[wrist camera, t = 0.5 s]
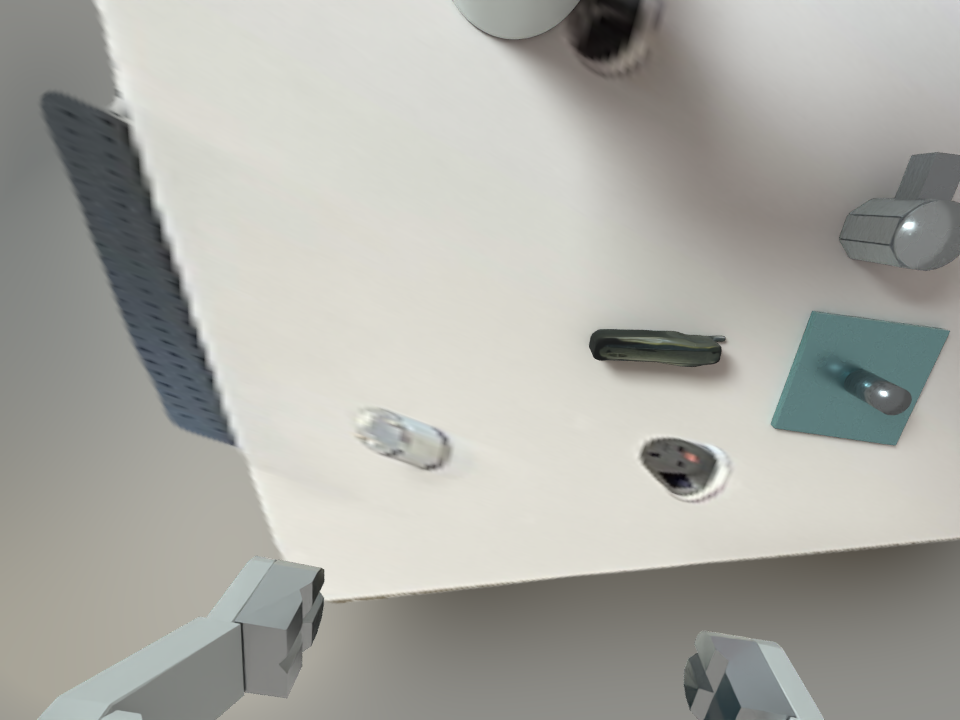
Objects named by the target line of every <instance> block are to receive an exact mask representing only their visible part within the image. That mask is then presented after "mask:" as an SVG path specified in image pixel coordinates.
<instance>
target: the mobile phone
mask: <svg viewBox="0 0 960 720" xmlns="http://www.w3.org/2000/svg"><path fill="white" fill-rule="evenodd" d="M723 341H725V336H701V335H686V334H682V333H679V332H675V331H650V330H617V329H601V330H597V331H595V332H594V333H593V334H592V336H591V338H590V344H589V348H590V350H591V352H592V355H593V357H594V358H595V359H597V360H602V361H603V360H622V361H646V362H660V363H666V364H672V365H677V366H685V367H696V366H701V365H708V364H715V363H717V362H719V360H720V356H721V346H720V345H719V344H718V343H716V342H723Z"/></svg>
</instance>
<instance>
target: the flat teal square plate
mask: <svg viewBox="0 0 960 720" xmlns="http://www.w3.org/2000/svg"><path fill="white" fill-rule="evenodd" d="M949 332H950V331H948V330H945V329H941V328H934V327H926V326H919V325H912V324H904V323H897V322H890V321H882V320H875V319H867V318H860V317H853V316H845V315H838V314H831V313H823V312H816V311H812V313H811V316H810V319H809V321H808V324H807V327H806V330H805V332H804V335H803V338H802V340H801V343H800V346H799V349H798V351H797V354H796V357H795V359H794V362H793V365H792V367H791V370H790V373H789V376H788V378H787V381H786V384H785V386H784V389H783V392H782V395H781V397H780V400H779V403H778V405H777V408H776V411H775V414H774V416H773V419H772V422H771V425H772V426H773V427H774V428H777V429H784V430H791V431H798V432H805V433H812V434H819V435H826V436H833V437H840V438H847V439H854V440H861V441H868V442H875V443H882V444H889V445H896V444H897V442H898V439H899V437H900V435H901V433H902V431H903V429H904V427H905V425H906V423H907V421H908V419H909V416H910V414H911V412H912V410H913V408H914V406H915V404H916V402H917V400H918V398H919V395H920V393H921V391H922V389H923V387H924V385H925V383H926V381H927V379H928V377H929V374H930V372H931V370H932V368H933V366H934V364H935V362H936V360H937V358H938V356H939V353H940V351H941V349H942V347H943V345H944V343H945V341H946V339H947V337H948V335H949Z"/></svg>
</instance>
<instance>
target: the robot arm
mask: <svg viewBox="0 0 960 720" xmlns="http://www.w3.org/2000/svg"><path fill="white" fill-rule="evenodd" d="M453 1H454V3H455V5H456V6H457V8H458V9H459V10H460V12H461V13H462V14H463V15H464V16H465V17H466V19H467V20H469V21H470V22H471V23H472V24H473V25H474V26H476V27H477V28H479V29H480V30H482V31H484V32H486V33H488V34H490V35H493V36H496V37H500V38H505V39H524V38H529V37H533V36H536V35H539V34H541V33H544V32H546V31H548V30H549V29H551V28H553V27H554V26H556V25H557V24H558V23H560V22H561V21H562V20H563V19H564V18H565V17H566V16H567V15H568V14H569V13H570V12H571V11H572V10H573V9H574V8H575V6H576V5H577V4H578V2H579V1H580V0H453ZM323 584H324V569H322V568H319V567H314V566H309V565H304V564H299V563H293V562H288V561H283V560H275V559H270V558H265V557H260V556H255V557H253V558H252V559H250V560H249V561H248V562H247V564H246V565H245V566H244V568H243V569H242V570H241V572H240V573H239V574H238V576H237V577H236V579H235V580H234V581H233V582H232V584H231V585H230V586H229V588H228V589H227V591H226V592H225V593H224V595H223V596H222V597H221V599H220V600H219V601H218V603H217V604H216V605H215V607H214V608H213V609H212V611H211V612H210V613H209V615H208V616H207V617H206V618H205V617H198V618H196V619H194V620H193V621H191V622H189V623H187V624H186V625H184V626H182V627H180V628H178V629H177V630H175V631H173V632H171V633H170V634H168V635H166V636H164V637H162V638H161V639H159V640H157V641H155V642H154V643H152V644H150V645H148V646H147V647H145V648H143V649H141V650H139V651H138V652H136V653H134V654H132V655H131V656H129V657H127V658H125V659H124V660H122V661H120V662H118V663H116V664H115V665H113V666H111V667H109V668H108V669H106V670H104V671H102V672H101V673H99V674H97V675H95V676H94V677H92V678H90V679H88V680H86V681H85V682H83V683H81V684H79V685H78V686H76V687H74V688H72V689H71V690H69V691H67V692H65V693H63V694H62V695H60V696H58V697H57V698H56V700H54V702H53V703H52V704H51V705H50V706H49V707H48V708H47V709H46V710H45V711H44V713H42V715H41V716H40V717H39V718H38V719H37V720H216V719H217V718H218V717H220V716H221V715H222V714H223V713H224V712H225V711H226V710H228V709H229V708H230V707H231V706H232V705H233V704H235V703H236V702H237V701H238V700H239V699H240V698H241V697H243V696H244V692H247V693H253V694H260V695H268V696H275V697H282V698H287V697H288V695H289V693H290V691H291V689H292V687H293V685H294V682H295V680H296V678H297V676H298V674H299V672H300V670H301V667H302V652H303V651H305V650H306V649H308V648H309V647H310V646H311V645H312V643H313V641H314V639H315V637H316V634H317V632H318V628H319V625H320V622H321V618H322V613H323V607H324V597H323V596H322V594H321V593H320V590H321V588H322V586H323ZM695 647H696V649H697V652H698V653H696V654H695V655H693V656H692V657H690V658H689V659H688V661H687V664H686V667H685V670H684V688H685V695H686V699H687V702H688V705H689V709H690V711H691V712H692V713H693V714H694V715H695V716H696V718H697V719H698V720H824V718H823V716H822V715H821V713H820V711H819V710H818V708H817V706H816V704H815V703H814V701H813V699H812V698H811V696H810V694H809V693H808V691H807V689H806V688H805V686H804V684H803V682H802V681H801V679H800V677H799V676H798V674H797V672H796V671H795V669H794V667H793V666H792V664H791V662H790V661H789V659H788V657H787V655H786V654H785V652H784V650H783V649H782V648H781V646H780V645H778V644H777V643H776V642H772V641H766V640H759V639H753V638H750V639H749V638H747V637H741V636H734V635H728V634H721V633H715V632H708V631H702V632H700V633H699V634H698V636H697V638H696V640H695Z"/></svg>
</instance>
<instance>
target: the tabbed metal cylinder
mask: <svg viewBox="0 0 960 720" xmlns="http://www.w3.org/2000/svg"><path fill="white" fill-rule="evenodd" d="M959 181H960V155H955V154H947V153H939V152H935V153H926V154H917V155H912V156H911V158H910V161H909V163H908V166H907V168H906V171H905V173H904V176H903V178H902V181H901V183H900V186H899V188H898V191H897V193H896V196H895V198H894V199H871V200H869V201H868V202H866V203H865V204H863V205H861V206H860V207H858V208H857V209H855V210H854V211H852V212H851V213H849V215H848V216H847V218H846V221H845V224H844V226H843V229H842V232H841V235H840V237H839V238H841V239H840V242H841V244H842V246H843V247H844V249H845V251H846V253H847V255H848V256H849V258H852V259H857V260H863V261H868V262H874V263H879V264H885V265H890V266H896V267H901V268H909V269H916V270H924V271H927V270H933V269H937V268H940V267H942V266H944V265H946V264H948V263H950V262H951V261H953V260H954V259H955V258H956V257H957V256H958V255H959V254H960V203H957V202H955V201H951V200H952V197H953V195H954V193H955V190H956V188H957V186H958V184H959Z"/></svg>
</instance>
